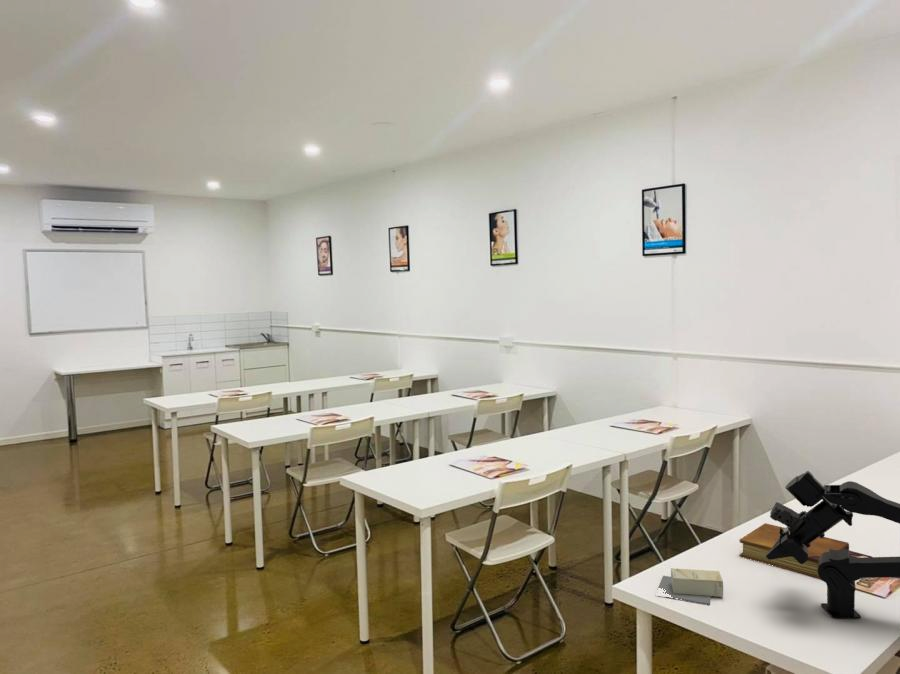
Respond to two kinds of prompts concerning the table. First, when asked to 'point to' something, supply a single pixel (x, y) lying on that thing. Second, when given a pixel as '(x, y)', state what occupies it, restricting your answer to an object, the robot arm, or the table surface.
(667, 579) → the mat
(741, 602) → the table surface
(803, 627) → the table surface
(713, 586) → the skincare box
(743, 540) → the diary
